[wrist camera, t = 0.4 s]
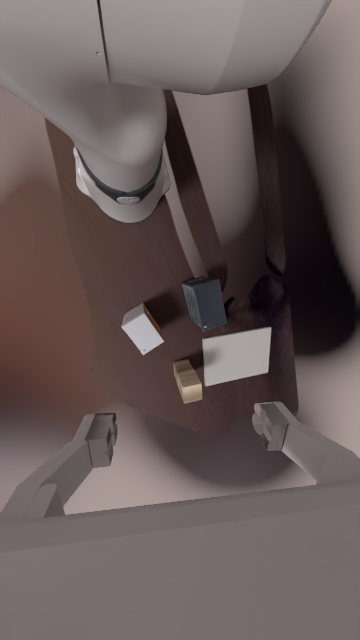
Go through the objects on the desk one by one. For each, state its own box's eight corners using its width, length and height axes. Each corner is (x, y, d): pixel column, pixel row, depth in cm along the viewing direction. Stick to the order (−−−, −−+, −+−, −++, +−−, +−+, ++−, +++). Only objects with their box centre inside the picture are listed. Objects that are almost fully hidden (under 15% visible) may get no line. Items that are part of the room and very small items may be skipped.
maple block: (173, 361, 54) (182, 387, 43) (187, 358, 55) (201, 383, 43) (174, 375, 55) (184, 403, 44) (189, 372, 56) (202, 399, 45)
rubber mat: (202, 338, 54) (203, 339, 53) (269, 326, 58) (271, 327, 57) (204, 384, 59) (205, 386, 58) (266, 370, 63) (268, 372, 62)
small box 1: (159, 326, 50) (165, 342, 40) (141, 337, 50) (143, 356, 40) (142, 301, 47) (144, 312, 37) (124, 313, 47) (120, 327, 37)
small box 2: (211, 312, 52) (228, 324, 42) (189, 319, 51) (201, 332, 41) (203, 275, 48) (221, 278, 39) (180, 281, 48) (191, 286, 38)
